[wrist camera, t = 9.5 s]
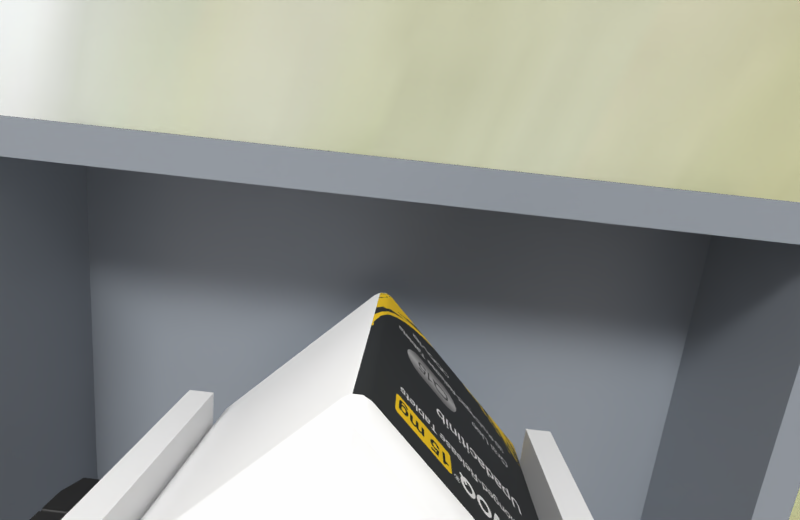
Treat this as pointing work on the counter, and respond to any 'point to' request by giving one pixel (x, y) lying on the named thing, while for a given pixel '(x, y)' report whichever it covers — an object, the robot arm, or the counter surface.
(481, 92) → the counter surface
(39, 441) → the grey box
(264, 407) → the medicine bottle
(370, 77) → the counter surface
